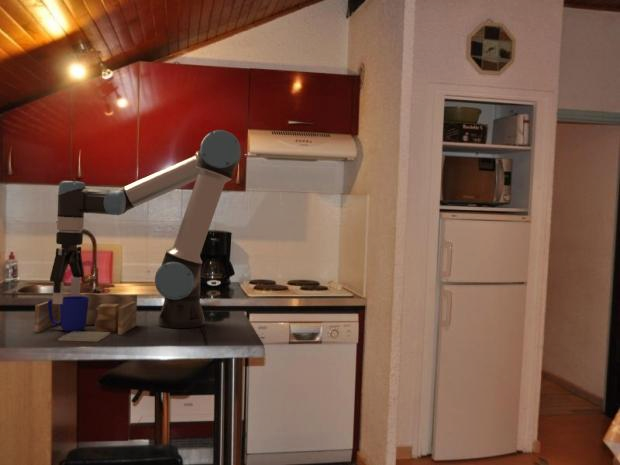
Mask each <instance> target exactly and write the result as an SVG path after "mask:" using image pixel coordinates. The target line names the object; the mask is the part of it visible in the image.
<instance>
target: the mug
mask: <svg viewBox="0 0 620 465" xmlns="http://www.w3.org/2000/svg"><path fill="white" fill-rule="evenodd" d="M88 301H89V298H88V297H83V296H69V297H63V304H60V314H61V320H60V322H56V321H54V319H53V315H52V304H51V303H52V302H53V299H48V309H49V316H50V320H51V322H52V323H53V324H56V325H57V326H58V325H61V329H62V330H63V331H64V332H68V333H70V332H73V331H84V330H85V328H86V327H87V326H86V319H87V310H88ZM56 325H55V326H56Z"/></svg>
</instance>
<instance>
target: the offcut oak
mask: <svg viewBox="0 0 620 465" xmlns="http://www.w3.org/2000/svg"><path fill="white" fill-rule="evenodd" d="M118 314H119V304H102V305H100V306H98V319H101V320H115V319H116V318H118Z"/></svg>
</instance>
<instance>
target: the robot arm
mask: <svg viewBox="0 0 620 465" xmlns="http://www.w3.org/2000/svg"><path fill="white" fill-rule="evenodd" d="M241 159H242V148H241V143H240V142H239V140H238V138H237V137H236V135H234V134H233V133H232V132H229V131H226V130H223V129H216V130H213V131H211V132H209V133H208V134H206V135H205V137H203V139H202V141H201V143H200V148H199V150H197V151H196V152H195V154H194V155H192V156H191V157H189V158H186V159H183V160H182V161H180V162H177V163H175V164H172V165H170V166H168V167H165V168H164V169H162V170H158V171H157V172H154V173H152V174H150V175H148V176H146V177H143V178H140V179H139V180H136V181H133V182H132V183H129V184H128V185H125V186H122V187H120V188H118V189H95V188H87V187H86V183H85V182H83V181H75V180H62V181H60V182H59V183H58V185H59V186H58V193H57V215H56V217H57V218H56V220H55V223H56V229H57V232H56V233H55V234H56V238H55V239H56V240H55V243H56V244H57V245H61V247H56V248H55V256H54V260H53V264H52V268H51V272H50V277H49V282H50V283H51V282H53V284H52V285H53V286H52V287H53V289H52V300H53V304H63V293H64V283H65V282H64V281H63V280H64V278H65V274H66V272H67V270H68V266H69V267H70V272H71V275H72V276H71V277H70V293H71V295H70V296H80V293H81V280H82V279H81V278H84V277H85V270H84V265H83V256H82V247H81V245H83V238H84V237H83V236H84V234H83V232H82V231H84V223H85V222H84V218H85V216H84V215H85V214H95V215H99V214H100V215H110V216H120V215H123V214H125V213H126V212H128V211H130V210H132V209H133V208H135V207H136V208H137V207H138V206H141V205H142V204H144V203H147V202H150V201H152V200H154V199H157V198H159V197H161V196H163V195H166V194H167V193H170V192H173V191H175V190H176V189H179V188H181V187H184V186H185V185H188V184H190V183H192V182H194V186H193V188H192V192H191V195H190V196H189V201H188V202H187V206H186V209H185V212H184V214H183V217H182V220H181V224H180V226H179V229H178V232H177V235H176V238H175V240H174V243H173V246H172V247H171V248H169V249H167V250H166V252H165V253H164V257H163V260H162V262H161V265H160V266H159V268H158V269H157V271H156V272H155V275H154V283H155V287H156V290H157V292H158V293H159V294H160V295H161V296H162V297H163V298H164V300H163V304H162V307H161V310H160V313H159V314H158V315H159V316H158V319H157V320H158V321H157V324H158V326H160V327H162V328H163V327H164V328H169V329H171V328H172V329H190V328H199V327H203V326H205V319H206V318H205V315H204V312H203V311H204V310H203V308H202V305H201V277H202V275H201V274H202V265H203V260H202V259H201V258H202V257H201V253H202V250H203V247H204V244H205V242H206V239H207V236H208V232H209V229H210V227H211V225H212V222H213V218H214V215H215V212H216V210H217V207H218V204H219V201H220V199H221V196H222V192H223V190H224V187H225V185H226V183H228V182H231V181H232V179H233V175H234V172H235V169H236V168H237V166H238V165H239V164H240V162H241ZM79 245H80V246H79Z"/></svg>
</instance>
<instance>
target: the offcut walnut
mask: <svg viewBox="0 0 620 465" xmlns="http://www.w3.org/2000/svg"><path fill="white" fill-rule="evenodd" d="M94 329H95V330H94V332H110V333H116V332H117V333H118V318H116V319H115V320H101V319H96V328H95V327H94Z"/></svg>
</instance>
